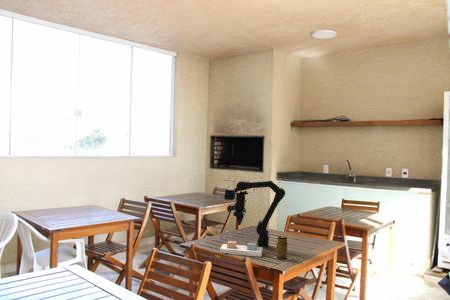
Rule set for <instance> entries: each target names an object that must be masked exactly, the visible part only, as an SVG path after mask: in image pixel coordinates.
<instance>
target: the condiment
mask: <svg viewBox="0 0 450 300" xmlns="http://www.w3.org/2000/svg"><path fill="white" fill-rule="evenodd" d="M275 252H276V253H275V256H273V257H272V258H275V259H278V260H282V261H290V260H292V259H293V258H292V257H288V237H287V236H284V235H279V236H277V241H276V250H275Z"/></svg>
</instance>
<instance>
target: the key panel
mask: <svg viewBox="0 0 450 300" xmlns="http://www.w3.org/2000/svg"><path fill="white" fill-rule="evenodd" d="M263 250H264V247H258V246H256V250H247V245H243V244H242V245H241V244H236V249H234V248H227V243H222V245H221V247H220V248H219V253H220V252H224V253H223V254H225V253H229V254H228V255H236V256H237V255H239V256H249V257H262V255H263Z"/></svg>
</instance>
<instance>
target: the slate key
mask: <svg viewBox="0 0 450 300" xmlns="http://www.w3.org/2000/svg"><path fill="white" fill-rule="evenodd" d="M246 246H247V250H256V247H258V242H247V245H246Z"/></svg>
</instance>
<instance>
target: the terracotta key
mask: <svg viewBox="0 0 450 300" xmlns="http://www.w3.org/2000/svg"><path fill="white" fill-rule="evenodd" d="M226 244H227V248H234V249H236V245H237V241H236V240H235V241H233V240H228V241H227V243H226Z"/></svg>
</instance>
